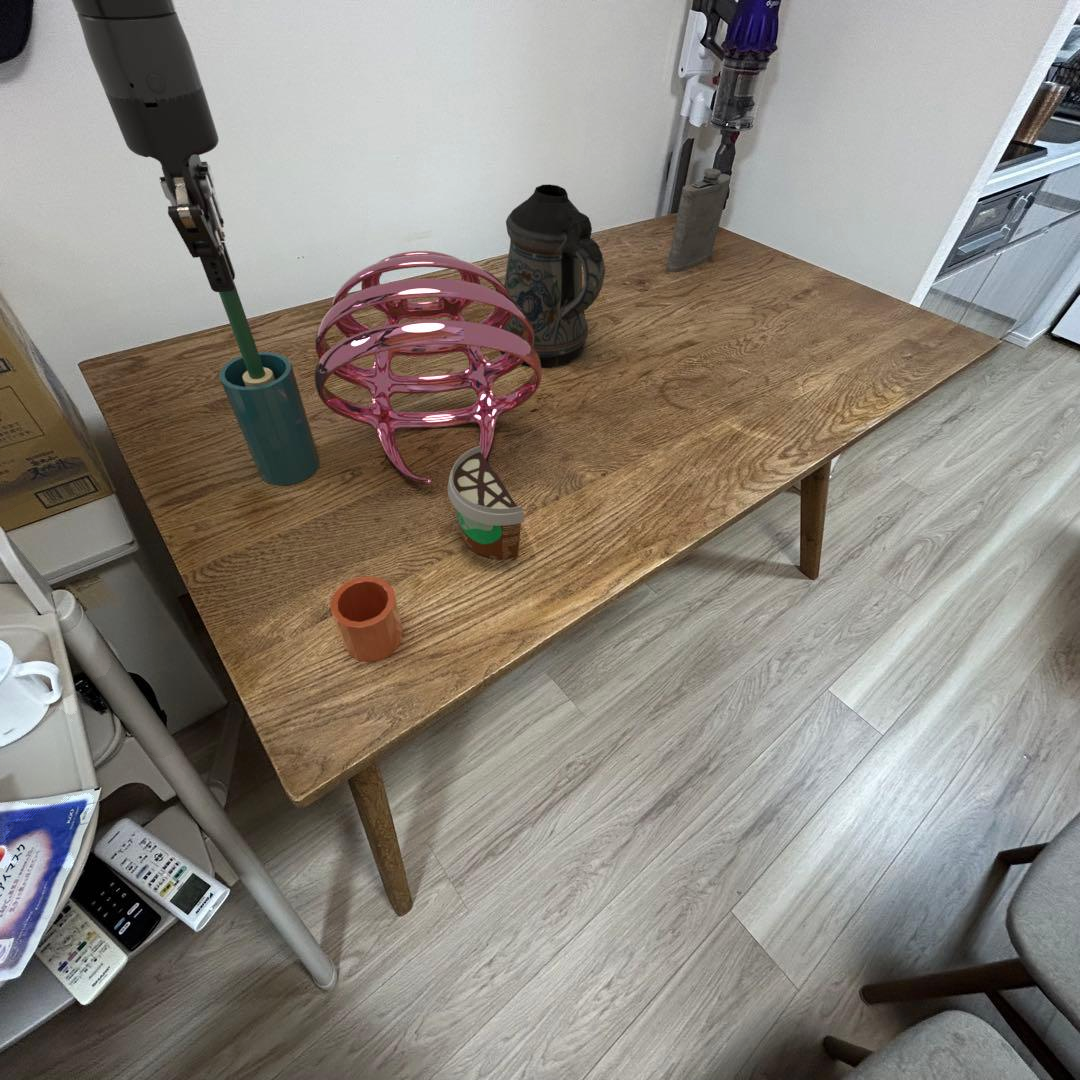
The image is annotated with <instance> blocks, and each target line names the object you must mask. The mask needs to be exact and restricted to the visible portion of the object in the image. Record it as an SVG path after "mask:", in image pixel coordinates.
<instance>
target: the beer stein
mask: <svg viewBox="0 0 1080 1080" xmlns="http://www.w3.org/2000/svg"><path fill="white" fill-rule="evenodd" d="M505 227H506V232H507V235H508V238H509V239H510V240H509V250H508V257H507V264H506V271H505V278H504V283H503V285H504V286H505V287H506V289H507V290H508V292H509V294H510V296H511V298H512V300H514V301H515V302H516V303H517V304H518V305H519V306H520V307H521V308H522V309H523V310H524V312H525V313H526V315H527V316H528V318H529V320H530V322H531V325H532V328H533V331H534V345H533V347H534V348H535V350H536V351H537V353H538V355H539V357H540V360H541V366H542V369H543V368H545V369H546V368H547V369H551V368H555V367H559V366H563V365H568V364H569V363H571V362H573V361H575V360H576V359H578V358H579V356H580V355H581V354H582V352H583V350H584V347H585V344H586V342H587V338H588V335H589V325H588V322H587V318H586V314H585V311H586V310H588V308H590V307H591V306H592V304H593V303H594V302H595V301H596V300H597V299H598V297H599V295H600V293H601V290H602V288H603V286H604V281H605V276H606V266H605V260H604V257H603V253H602V251H601V249H600V246H599V244H598V243H597V242H596V241H595V240H594V239H592V238H591V236H592V231H593V227H592V223H591V220H590V217H589V216H588V215H587V214H585V213H583V212H580V211H579V209H578V207H576V206H575V205H574V203H573V202H572V201H571V200H570V199H569V196H568V192H567V190H566V188H564V187H562V186H559V185H557V184H556V185H555V184H541V185H539V186H536V187H535V188H534V191H533V193H532V194H531V195H530V196H529V197H528V198H527V199H526V200H524V201H523V202H521V203H520V204H518V205H517V206H516V207H515V208H513V209H512V211H511V212H510V213H509V214H508V216H507V218H506V220H505ZM583 274H584V275H583ZM583 276H584V278H583ZM583 279H584V280H583ZM503 329H504V330H507V331H509V332H512V333H514V334H516V335H518V336H520V337H521V336H522V334H523V330H524V325H523V323H522V322H521V321H520V320H519V319H517V318H516V317H515V316H513V315H512V316H511V318H510V320H509V322H508V324H507V325H506V326H505V327H504V328H503ZM499 353H500V354H501V356H503V355H504V354H506V353H505V352H502V351H499ZM520 366H525V367H530V368H532V367H531V366H530V365H529V364H528V363H526V362H525V361H524V362H523V363H522V364H520Z"/></svg>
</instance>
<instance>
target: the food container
mask: <svg viewBox="0 0 1080 1080" xmlns="http://www.w3.org/2000/svg"><path fill="white" fill-rule="evenodd" d="M448 477H449V478H448V483H447V496H448V499H449V501H450V503H451V505H452V506H453V507H454V509H455V510H456V513H457V517H458V523H459V528H460V534H461V539H462V541H463V544H464V545H465V546H466V547H467V548H468V549H469V550H470V551H471V552H472V553H474V554H475V555H477V556H478V557H479V556H480V557H481V558H484V559H489V560H509V559H513V558H517V557H518V556H519V546H520V538H521V537H520V536H521V527H522V523H525V515H524V510H523V505H517V504H516V502H515V501H514V499H513V497H512V496H511V495H510V493H509V491H508V490H507V488H506V486H505V484H504V483H503V481H502V480H501V478H500V476H499V475H498V474H497V473H496V471H494V469H493V468H492V467H491V465H490V464H489V462H488V461H487V458H486V459H485V458H484V456H483V455H482V450H481V445H480V446H475V447H473V448H471V449H468V450H467V451H465V452H464V453H462V455H460V457H458V459H457V460H456V461H455V462H454V464H453V466H452V468H451V471H450V473H449V476H448Z"/></svg>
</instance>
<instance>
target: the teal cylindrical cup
mask: <svg viewBox="0 0 1080 1080" xmlns="http://www.w3.org/2000/svg"><path fill="white" fill-rule="evenodd" d="M258 353H259V356H260V359H261V362H262V365H263V367H265V368H268V369H270V370H271V371H272V372H273V375H274V378H275V381H273V382H271V383H268V384H265V385H261V386H254V387H246V386H245V383H244V381H243V374H244V373H245V372H246V371H247V368H246V365H245V363H244V360H243V357H242V355H238V356H237V357H235V358H233V359H230V360H229V361H228V362H227V363H225V364H223V366H222V367H221V369H220V371H219V376H218V377H219V381H220V383H221V385H222V388H223V389H224V393H225V395H226V397H227V400H228V402H229V405H230V407H231V409H232V411H233V414H234V417H235V419H236V422H237V424H238V426H239V429H240V431H241V434H242V436H243V439H244V441H245V443H246V446H247V449H248V450H249V453H250V456H251V459H252V460H253V463H254V465H255V467H256V470H257V472H258V475H259V476H260V478H261V479H262V480H263V481H265V482H266V483H268V484H271V485H276V486H291V485H296V484H299V483H303V482H304V481H306V480H308V479H309V478H311V477H312V476H313V475H314V474H316V472H317V471H318V469H319V468H320V464H321V459H320V456H319V451H318V448H317V445H316V441H315V439H314V436H313V432H312V428H311V425H310V422H309V419H308V416H307V411H306V409H305V405H304V402H303V399H302V396H301V392H300V388H299V386H298V382H297V379H296V376H295V373H294V369H293V365H292V363H291V362H290V360H289V359H288V358H287V357H286V356H284V355H282V354H280V353H275V352H269V351H268V352H267V351H258Z"/></svg>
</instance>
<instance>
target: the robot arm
mask: <svg viewBox="0 0 1080 1080" xmlns="http://www.w3.org/2000/svg"><path fill="white" fill-rule="evenodd" d="M71 2H72V5H73V7H74V10H75V12H76V16H77V18H78V21H79V24H80V27H81V30H82V34H83V38H84V42H85V45H86V48H87V51H88V53H89V56H90V59H91V61H92V64H93V66H94V69H95V71H96V73H97V76H98V78H99V81H100V83H101V87H102V89H103V90H104V93H105V96H106V98H107V101H108V103H109V105H110V108H111V110H112V113H113V115H114V117H115V121H116V123H117V125H118V127H119V130H120V132H121V135H122V137H123V140H124V142H125V144H126V146H127V148H128V149H129V151H131V152H132V153H133V154H135V155H137V156H140V157H143V158H152V159H154V160H156V161H158V162H159V163H160V165H161V170H162V174H163V176H159V183H160V186H161V188H162V191H163V194H164V196H165V198H166V199H167V200H168V201H169V202H170V205H168V206H167V215H168V217H169V218H170V219H171V221H172V223H173V225H174V227H175V229H176V230H177V232H178V234H179V235H180V237H181V239H182V241H183V243H184V244H185V246H186V249H187V250H188V252H189V254H190V255H191V257H192V258H195V259H196V258H199V259H200V262H201V265H202V268H203V270H204V273H205V277H206V278H207V281H208V284H209V286H210V289H211V290H212V291H213V292H215V293H219V292H225V291H232V290H233V289H234V283H235V281H233V280H235V278H236V272H235V269H234V266H233V264H232V260H231V257H230V254H229V251H228V248H227V245H226V243H225V242H226V233H225V231H224V230H223V228H224V226H225V225H224V224H225V221H224V218H223V216H222V208H221V205H220V203H219V200H218V196H217V193H216V189H215V186H214V176H213V174H212V170H211V167H210V165H209V163H208V162H207V161H201V160H202V159H201V158H200V155H204V154H206V153H209V152H211V151H212V150H214V149H215V148H216V147H217V146H218V145H219V135H218V132H217V129H216V125H215V123H214V119H213V114H212V113H211V109H210V105H209V102H208V99H207V96H206V92H205V90H204V86H203V83H202V79H201V76H200V74H199V70H198V67H197V64H196V60H195V57H194V53H193V51H192V48H191V45H190V42H189V40H188V38H187V34H186V33H185V30H184V28H183V25H182V23H181V21H180V18H179V16H178V15H179V14H178V12H177V11H176V5H175V3H174V0H71ZM200 241H206V242H200ZM223 251H224V252H223ZM224 254H225V255H224ZM225 257H226V258H225ZM226 260H227V261H226ZM227 263H228V264H227ZM228 266H229V267H228ZM229 269H230V270H229ZM230 272H231V273H230ZM232 277H233V278H232Z"/></svg>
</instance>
